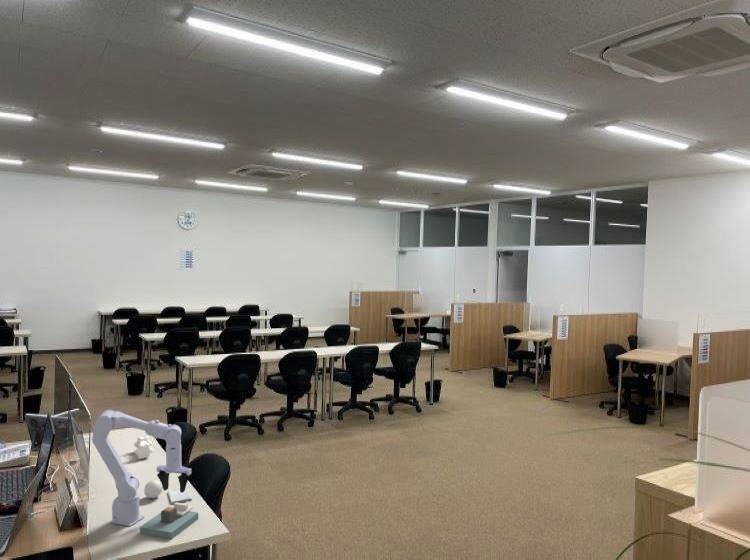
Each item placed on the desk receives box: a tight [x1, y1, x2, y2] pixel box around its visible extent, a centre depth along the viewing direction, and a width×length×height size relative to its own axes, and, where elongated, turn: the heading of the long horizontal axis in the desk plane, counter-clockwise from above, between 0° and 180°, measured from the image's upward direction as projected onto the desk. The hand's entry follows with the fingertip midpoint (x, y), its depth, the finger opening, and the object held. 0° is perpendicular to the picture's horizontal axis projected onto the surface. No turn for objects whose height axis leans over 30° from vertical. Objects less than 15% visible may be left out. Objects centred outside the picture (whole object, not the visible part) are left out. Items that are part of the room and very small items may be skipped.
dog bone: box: [133, 435, 154, 460], centre depth 281 cm, size 15×9×8 cm, turn 25°
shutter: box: [173, 502, 194, 516], centre depth 213 cm, size 6×6×3 cm
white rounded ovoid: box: [143, 479, 163, 499], centre depth 233 cm, size 10×7×7 cm
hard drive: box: [167, 487, 193, 505], centre depth 232 cm, size 2×8×12 cm
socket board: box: [139, 510, 199, 540], centre depth 207 cm, size 14×16×2 cm
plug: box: [160, 506, 177, 524], centre depth 206 cm, size 4×4×7 cm
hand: (174, 490), depth 215 cm, fingers open, 7 cm apart
